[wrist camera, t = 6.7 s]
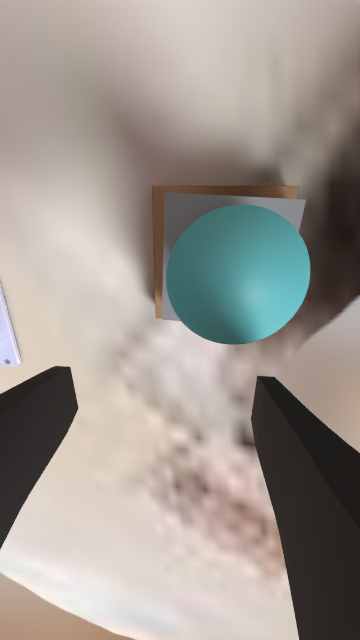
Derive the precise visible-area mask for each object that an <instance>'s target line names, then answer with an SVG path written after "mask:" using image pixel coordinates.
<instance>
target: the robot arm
mask: <svg viewBox="0 0 360 640" xmlns="http://www.w3.org/2000/svg"><path fill="white" fill-rule="evenodd" d="M20 363H21V358H20V354H19V351H18V347H17V343H16V340H15V336H14V332H13V328H12V325H11V321H10V317H9V314H8V310H7V306H6V303H5V299H4V295H3V292H2V288H1V284H0V366H14V367H15V366H18V365H19V364H20ZM77 410H78V404H77V399H76V394H75V389H74V384H73V379H72V374H71V369H70V367H63V366H55V367H52V368H50V369H48V370H46V371H44V372H42V373H40V374H38V375H36V376H34V377H32V378H30V379H28V380H26V381H24V382H22V383H21V384H19V385H17V386H15V387H13V388H11V389H9V390H7V391H5V392H4V393H2V394H0V549H1V547H2V545H3V543H4V541H5V539H6V537H7V535H8V533H9V531H10V529H11V527H12V525H13V523H14V521H15V519H16V517H17V515H18V513H19V512H20V510H21V508H22V506H23V504H24V502H25V501H26V499H27V497H28V496H29V494H30V492H31V490H32V489H33V487H34V486H35V484H36V482H37V481H38V479H39V478H40V476H41V474H42V473H43V471H44V470H45V468H46V466H47V465H48V463H49V462H50V460H51V458H52V457H53V455H54V454H55V452H56V450H57V449H58V447H59V445H60V444H61V442H62V440H63V439H64V437H65V435H66V434H67V432H68V430H69V428H70V426H71V424H72V422H73V419H74V417H75V415H76V412H77ZM251 421H252V428H253V434H254V440H255V446H256V450H257V453H258V457H259V460H260V464H261V468H262V471H263V475H264V478H265V482H266V485H267V489H268V492H269V496H270V499H271V503H272V506H273V510H274V513H275V517H276V521H277V525H278V529H279V534H280V539H281V544H282V549H283V554H284V559H285V564H286V569H287V574H288V580H289V585H290V591H291V596H292V601H293V607H294V612H295V618H296V623H297V629H298V635H299V640H360V453H359V452H358V451H356V450H355V449H354V448H353V447H351V446H350V445H349V444H347V443H346V442H345V441H344V440H343V439H341V438H340V437H339V436H338V435H337V434H336V433H334V432H333V431H332V430H331V429H330V428H328V427H327V426H326V425H325V424H324V423H323V422H321V421H320V420H319V419H318V418H317V417H316V416H315V415H314V414H313V413H312V412H310V411H309V410H308V409H307V408H306V407H305V406H304V405H303V404H302V403H301V402H300V401H299V400H298V399H297V398H296V397H295V396H294V395H292V393H291V392H290V391H288V390H287V389H286V388H285V387H284V386H283V385H282V384H281V383H280V382H279V381H278V380H277V379H276V378H275V377H266V376H257V382H256V389H255V396H254V402H253V409H252V416H251Z"/></svg>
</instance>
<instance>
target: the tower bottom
mask: <svg viewBox="0 0 360 640" xmlns="http://www.w3.org/2000/svg"><path fill="white" fill-rule="evenodd" d="M165 192H167V193H186V194H206V195H225V196H245V197H264V198H284V199H297V197H298V192H299V186H152V203H153V238H154V272H155V307H156V318H162V287H163V246H164V206H165Z"/></svg>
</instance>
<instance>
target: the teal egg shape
mask: <svg viewBox="0 0 360 640" xmlns="http://www.w3.org/2000/svg"><path fill="white" fill-rule="evenodd" d="M309 280H310V260H309V255H308V251H307V248H306V245H305V243H304V241H303V239H302V237H301V236H300V234H299V232H298V231H297V230H296V229H295V227H294V226H293V225H292V224H291V223H290V222H289V221H288V220H286V219H285V218H284V217H282V216H281V215H279V214H278V213H276V212H274V211H272V210H269V209H267V208H264V207H260V206H256V205H247V204H240V205H230V206H225V207H221V208H218V209H215V210H213V211H211V212H209V213H207V214H205V215H203V216H202V217H200V218H199V219H197V220H196V221H195V222H193V223H192V224H191V225H190V226H189V227H188V228H187V229H186V230H185V231H184V232H183V233H182V235H181V236H180V237H179V239H178V240H177V242H176V244H175V246H174V248H173V250H172V252H171V255H170V257H169V260H168V265H167V271H166V287H167V293H168V297H169V300H170V303H171V305H172V307H173V309H174V311H175V313H176V314H177V316H178V317H179V319H180V320H181V321H182V322H183V323H184V324H185V325H186V326H187V327H188V328H189V329H190V330H191V331H193V332H194V333H196V334H197V335H199V336H201V337H203V338H205V339H207V340H210V341H213V342H217V343H222V344H246V343H250V342H254V341H257V340H260V339H263V338H265V337H267V336H269V335H271V334H273V333H274V332H276V331H278V330H279V329H280V328H282V327H283V326H284V325H285V324H286V323H287V322H288V321H289V320H290V319H291V318H292V317H293V316H294V315H295V313H296V312H297V311H298V309H299V307H300V306H301V304H302V302H303V300H304V298H305V296H306V292H307V289H308V286H309Z"/></svg>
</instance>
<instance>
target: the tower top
mask: <svg viewBox="0 0 360 640" xmlns="http://www.w3.org/2000/svg"><path fill="white" fill-rule="evenodd" d="M305 203H306V200H303V199H284V198H264V197H245V196H225V195H206V194H186V193H167V192H165V206H164V246H163V287H162V319H163V320H175V321H181V320H180V319H179V317H178V316H177V314H176V313H175V311H174V309H173V307H172V305H171V303H170V300H169V297H168V293H167V287H166V271H167V265H168V260H169V257H170V255H171V252H172V250H173V248H174V246H175V244H176V242H177V240H178V239H179V237H180V236H181V235H182V233H183V232H184V231H185V230H186V229H187V228H188V227H189V226H190V225H191V224H192V223H193V222H195V221H196V220H197V219H199V218H200V217H202V216H203V215H205V214H207V213H209V212H211V211H213V210H215V209H218V208H221V207H225V206H230V205H240V204H247V205H256V206H260V207H264V208H267V209H269V210H272V211H274V212H276V213H278V214H279V215H281V216H282V217H284V218H285V219H286V220H288V221H289V222H290V223H291V224H292V225H293V226H294V227H295V229H296V230H297V231H298V232H299V229H300V225H301V220H302V216H303V212H304V207H305Z"/></svg>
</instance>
